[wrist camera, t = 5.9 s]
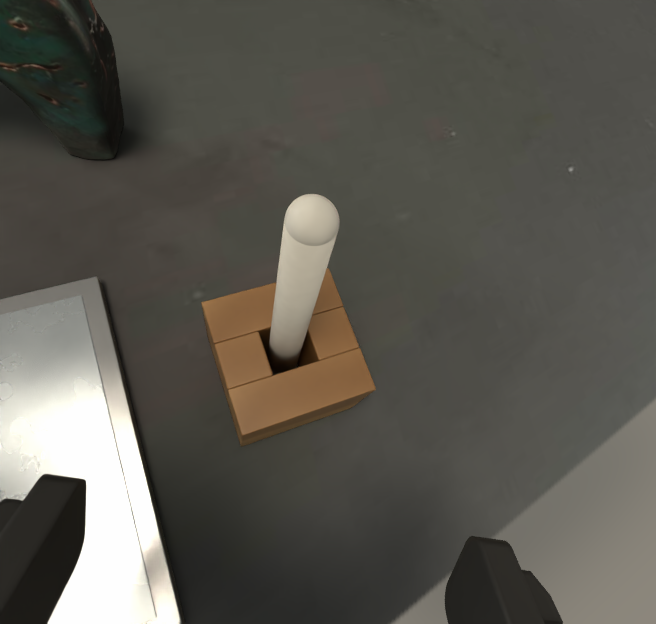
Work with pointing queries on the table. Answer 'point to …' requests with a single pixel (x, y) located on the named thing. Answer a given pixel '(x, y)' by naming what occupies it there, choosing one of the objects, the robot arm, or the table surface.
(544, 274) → the table surface
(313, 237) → the stylus
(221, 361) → the holder
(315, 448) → the table surface
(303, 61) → the table surface
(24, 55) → the ceramic cat
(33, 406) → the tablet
